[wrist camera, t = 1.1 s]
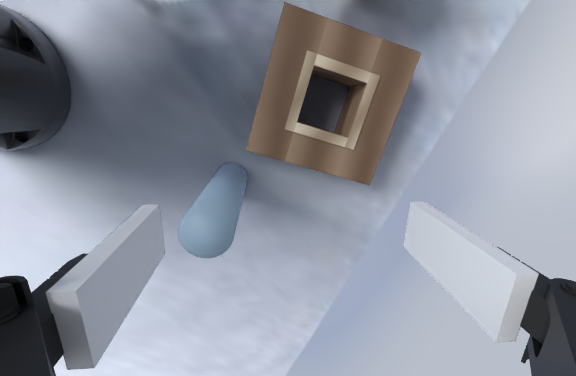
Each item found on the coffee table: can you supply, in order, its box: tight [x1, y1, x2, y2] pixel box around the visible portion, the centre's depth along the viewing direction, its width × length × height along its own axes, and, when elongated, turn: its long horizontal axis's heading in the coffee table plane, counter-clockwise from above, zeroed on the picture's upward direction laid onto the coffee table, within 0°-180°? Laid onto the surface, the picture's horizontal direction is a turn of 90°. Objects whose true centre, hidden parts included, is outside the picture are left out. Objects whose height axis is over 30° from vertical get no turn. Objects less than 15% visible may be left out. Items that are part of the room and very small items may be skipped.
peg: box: [178, 163, 248, 258], centre depth 28 cm, size 4×4×16 cm
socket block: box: [246, 2, 421, 185], centre depth 31 cm, size 14×14×6 cm
